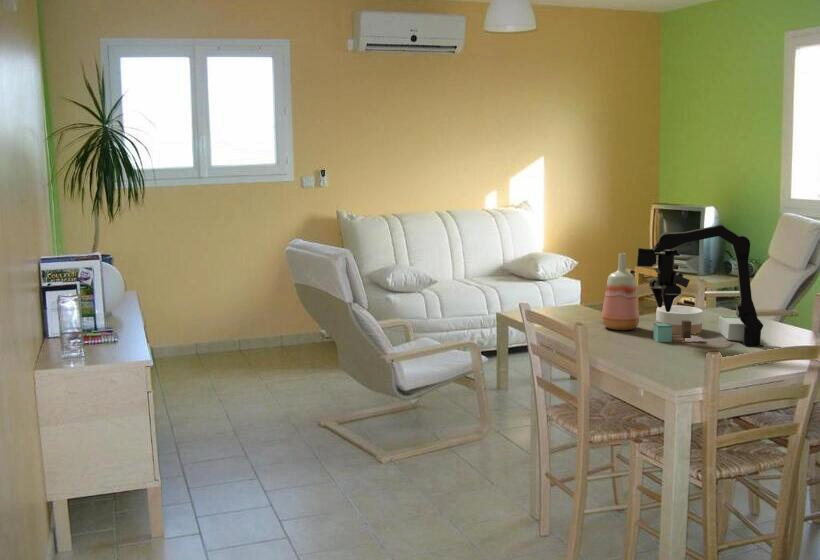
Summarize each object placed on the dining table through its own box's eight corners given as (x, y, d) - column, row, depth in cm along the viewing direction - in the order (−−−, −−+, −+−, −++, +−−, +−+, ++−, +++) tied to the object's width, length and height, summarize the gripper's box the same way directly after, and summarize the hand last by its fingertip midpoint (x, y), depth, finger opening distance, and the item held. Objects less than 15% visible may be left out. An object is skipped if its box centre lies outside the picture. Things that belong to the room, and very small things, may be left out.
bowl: (661, 335, 336) (662, 313, 335) (651, 325, 353) (651, 305, 352) (707, 335, 335) (708, 313, 334) (694, 326, 352) (695, 305, 351)
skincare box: (740, 316, 339) (752, 323, 323) (739, 333, 340) (751, 341, 324) (718, 315, 339) (729, 322, 324) (717, 332, 340) (728, 340, 325)
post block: (706, 342, 323) (707, 323, 322) (673, 342, 323) (674, 323, 322) (697, 336, 332) (698, 318, 331) (665, 337, 332) (666, 318, 331)
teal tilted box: (671, 342, 324) (672, 325, 323) (657, 342, 323) (658, 326, 323) (667, 338, 329) (667, 323, 328) (653, 338, 329) (654, 323, 328)
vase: (593, 326, 351) (595, 252, 347) (623, 323, 357) (626, 250, 352) (616, 333, 338) (618, 256, 334) (646, 330, 344) (649, 254, 339)
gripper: (696, 270, 313) (694, 314, 315) (679, 263, 331) (677, 304, 334) (665, 271, 313) (663, 314, 315) (649, 264, 331) (648, 305, 334)
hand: (663, 309), depth 324 cm, fingers open, 9 cm apart
